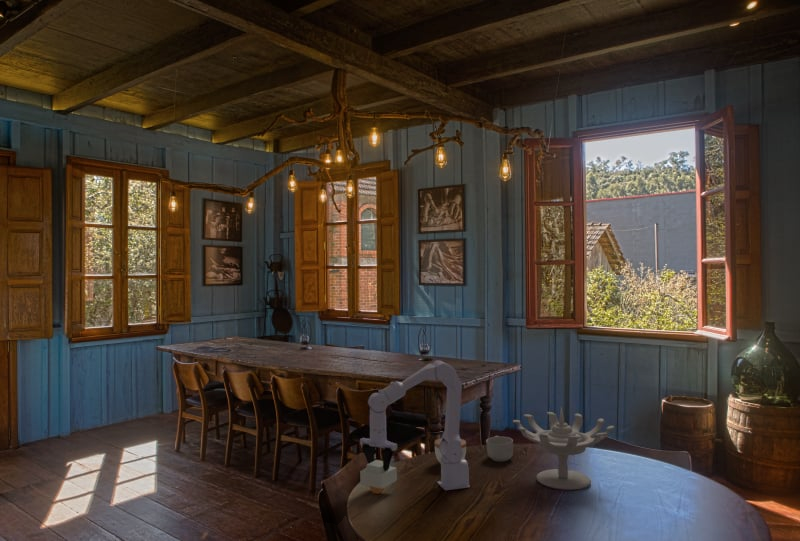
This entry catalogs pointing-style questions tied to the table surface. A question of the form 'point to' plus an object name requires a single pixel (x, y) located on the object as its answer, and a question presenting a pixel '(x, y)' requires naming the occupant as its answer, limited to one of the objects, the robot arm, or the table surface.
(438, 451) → the lidded bowl
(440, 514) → the table surface
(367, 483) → the white block
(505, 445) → the teacup
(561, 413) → the candelabra
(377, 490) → the ball
